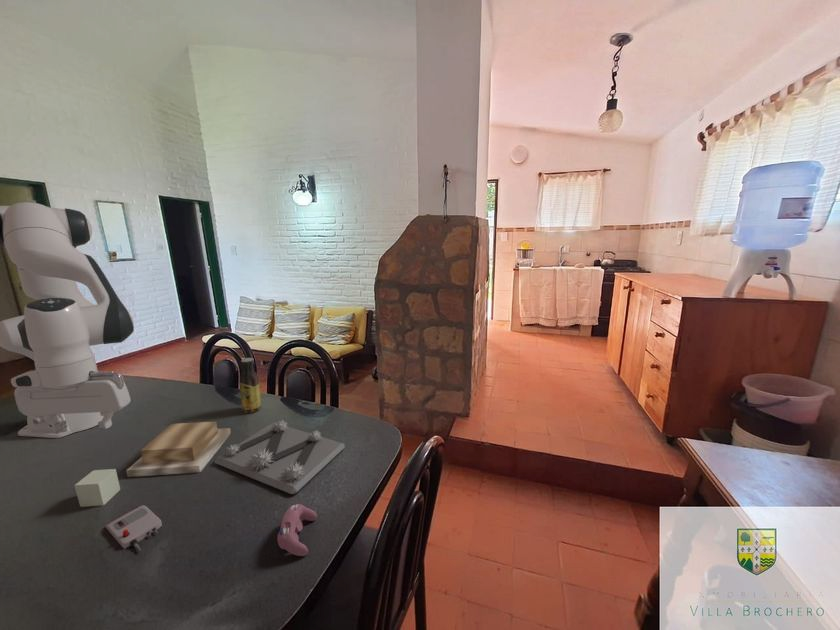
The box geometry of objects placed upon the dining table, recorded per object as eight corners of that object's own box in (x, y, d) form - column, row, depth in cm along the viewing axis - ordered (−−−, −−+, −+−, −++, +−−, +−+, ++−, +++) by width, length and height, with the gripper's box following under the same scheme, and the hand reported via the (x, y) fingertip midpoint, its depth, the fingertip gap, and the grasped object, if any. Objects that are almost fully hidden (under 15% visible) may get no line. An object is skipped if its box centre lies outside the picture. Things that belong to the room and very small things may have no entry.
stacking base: (127, 476, 85) (123, 457, 84) (171, 436, 103) (168, 419, 101) (200, 472, 87) (196, 452, 86) (230, 433, 105) (228, 416, 103)
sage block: (80, 507, 76) (74, 485, 74) (98, 491, 81) (93, 470, 79) (103, 505, 76) (98, 483, 75) (120, 489, 81) (115, 468, 80)
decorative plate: (347, 449, 98) (346, 428, 96) (294, 499, 79) (291, 474, 77) (274, 426, 110) (272, 407, 108) (212, 465, 91) (209, 443, 89)
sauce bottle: (239, 411, 118) (232, 360, 114) (255, 404, 124) (249, 355, 119) (249, 416, 115) (242, 363, 111) (265, 408, 120) (259, 358, 116)
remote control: (140, 505, 77) (137, 494, 76) (171, 534, 69) (169, 523, 69) (103, 525, 71) (100, 514, 71) (132, 560, 64) (129, 548, 63)
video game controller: (302, 523, 74) (285, 501, 72) (319, 515, 73) (303, 492, 72) (288, 566, 64) (269, 541, 62) (309, 556, 64) (290, 531, 62)
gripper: (131, 365, 75) (142, 418, 78) (33, 368, 73) (48, 423, 76) (108, 376, 69) (121, 433, 72) (0, 380, 67) (19, 439, 70)
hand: (83, 428), depth 74 cm, fingers open, 8 cm apart
